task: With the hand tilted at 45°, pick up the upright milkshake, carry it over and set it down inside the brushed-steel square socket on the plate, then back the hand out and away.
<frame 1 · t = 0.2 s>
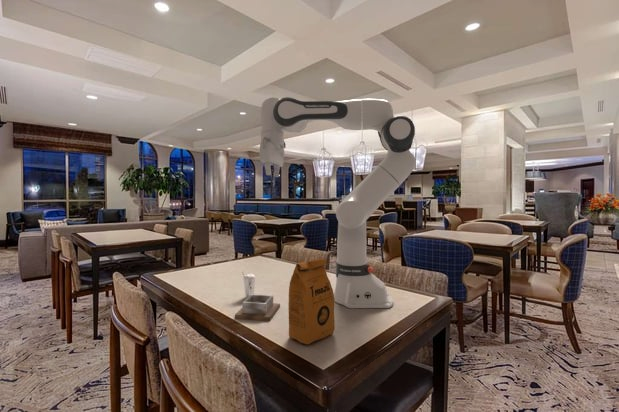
hand: (272, 176, 120), 48 cm above the table, tool pointing down, fingers open, 8 cm apart
coffee package: (312, 337, 87), on the table
milkshake: (248, 297, 119), on the table
socket base: (258, 312, 104), on the table
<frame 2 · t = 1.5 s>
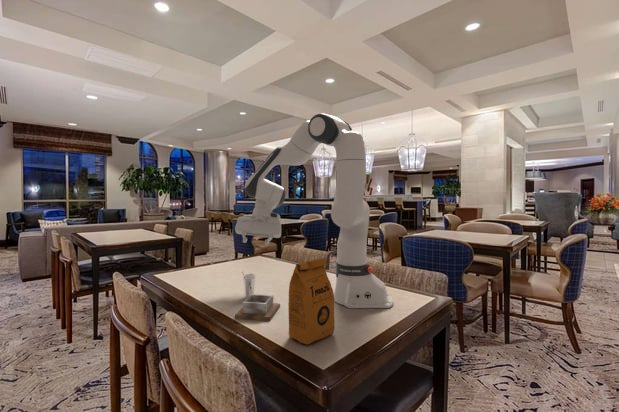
hand: (255, 243, 129), 20 cm above the table, tool tilted 45°, fingers open, 8 cm apart
nothing on the table moved.
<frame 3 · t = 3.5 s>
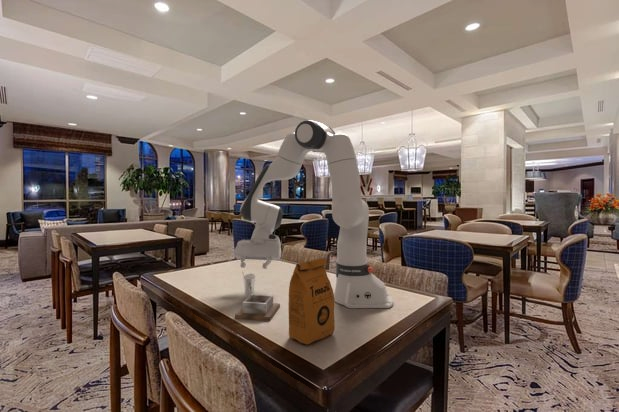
hand: (253, 267, 125), 10 cm above the table, tool tilted 45°, fingers open, 8 cm apart
nothing on the table moved.
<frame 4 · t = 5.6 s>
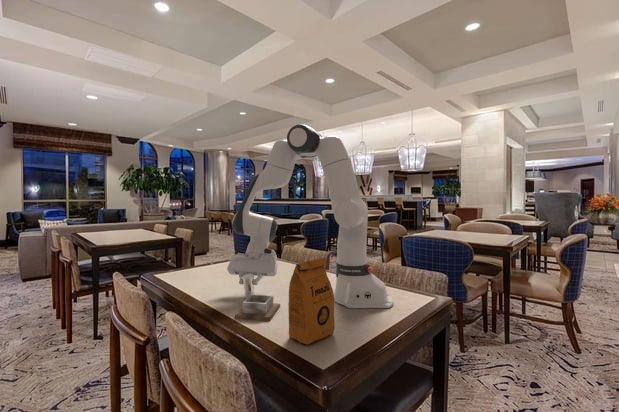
hand: (247, 284, 118), 5 cm above the table, tool tilted 45°, fingers closed on milkshake, 4 cm apart
milkshake: (248, 297, 119), on the table, touching gripper
everything else where it was.
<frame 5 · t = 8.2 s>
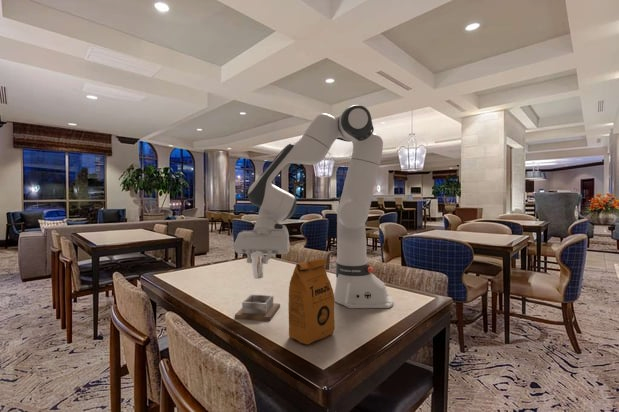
hand: (256, 262, 104), 17 cm above the table, tool tilted 45°, fingers closed on milkshake, 4 cm apart
milkshake: (257, 278, 105), point 11 cm above the table, touching gripper
everything else where it was.
when the fingers open (8 cm above the table, at t = 11.1 s): milkshake drops 1 cm, resting on socket base.
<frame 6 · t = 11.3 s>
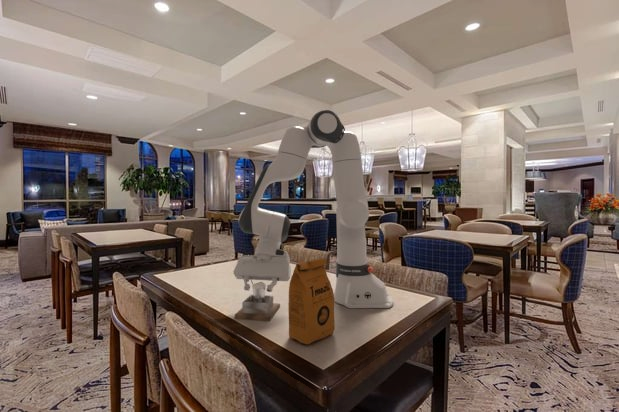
hand: (257, 290, 103), 8 cm above the table, tool tilted 45°, fingers open, 7 cm apart
milkshake: (258, 309, 104), point 1 cm above the table, touching socket base
everything else where it was.
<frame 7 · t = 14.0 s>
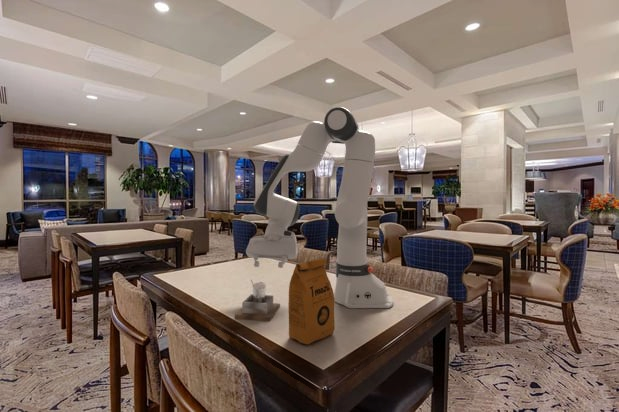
hand: (268, 266, 114), 13 cm above the table, tool tilted 45°, fingers open, 8 cm apart
nothing on the table moved.
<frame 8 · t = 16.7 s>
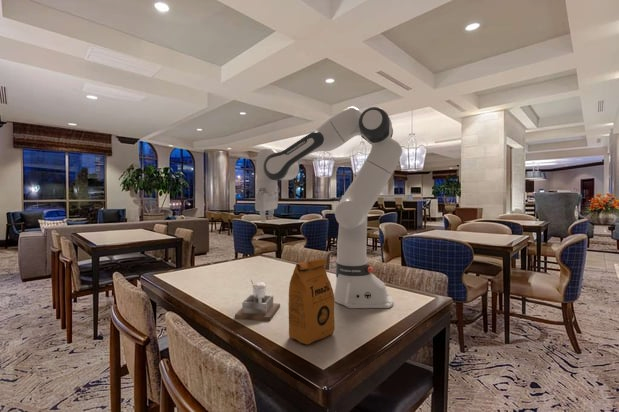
hand: (267, 220, 129), 29 cm above the table, tool pointing down, fingers open, 8 cm apart
nothing on the table moved.
at the end: milkshake 0.0 cm off-centre on the socket base, point 1.0 cm above the socket base's base; milkshake tilted 0°; the gripper is holding nothing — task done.
